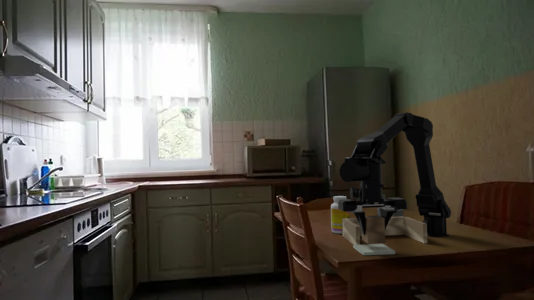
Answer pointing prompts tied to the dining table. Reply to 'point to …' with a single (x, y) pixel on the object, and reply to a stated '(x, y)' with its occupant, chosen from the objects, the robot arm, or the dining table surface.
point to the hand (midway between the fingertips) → (373, 234)
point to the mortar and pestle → (399, 211)
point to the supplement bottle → (338, 215)
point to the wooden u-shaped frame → (388, 229)
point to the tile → (373, 249)
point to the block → (374, 229)
